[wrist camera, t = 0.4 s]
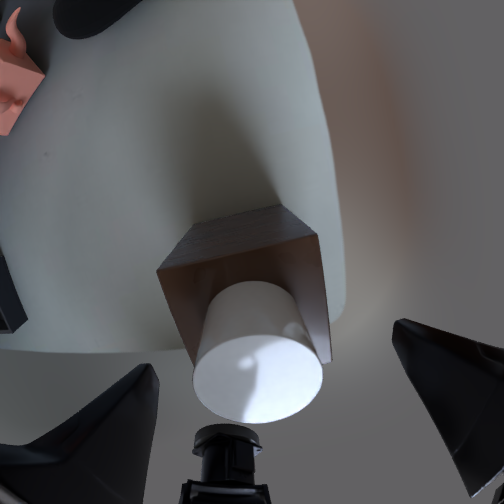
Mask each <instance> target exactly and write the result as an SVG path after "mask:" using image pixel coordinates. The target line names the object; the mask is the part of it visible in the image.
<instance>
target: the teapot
mask: <svg viewBox="0 0 504 504" xmlns="http://www.w3.org/2000/svg"><path fill="white" fill-rule="evenodd" d="M19 11H20V7H19V8H18V9H17V10H16V11H15V12H14V13H13V14H12V16H11V17H10V18H9V20H8V22H7V24H6V32H7V35H8V36H9V37H10V39H11V42H9V41H7V40H4V39H1V38H0V135H8V134H9V132H10V131H11V129H12V127H13V125H14V123H15V122H16V120H17V118H18V116H19V115H20V113H21V111H22V110H23V108H24V107H25V105H26V103H27V102H28V100H29V99H30V97H31V96H32V94H33V93H34V91H35V90H36V88H37V87H38V86H39V84H40V83H41V81H42V80H43V79H44V77H45V75H44V73H43V72H42V71H41V70H40V69H39V68H38V66H37V65H36V64H35V63H34V62H33V61H32V59H31V58H30V57H29V56H28V55H27V53H26V41H25V38H24V37H23V35H22V34H21V32H20V31H19V29H18V28H17V24H16V19H17V16H18V13H19Z"/></svg>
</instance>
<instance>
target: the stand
mask: <svg viewBox="0 0 504 504" xmlns="http://www.w3.org/2000/svg"><path fill="white" fill-rule="evenodd" d="M156 273H157V276H158V278H159V281H160V284H161V287H162V290H163V292H164V295H165V298H166V300H167V303H168V306H169V308H170V311H171V313H172V316H173V318H174V321H175V323H176V326H177V328H178V331H179V333H180V336H181V338H182V340H183V343H184V345H185V347H186V350H187V352H188V354H189V356H190V358H191V361H192V363H193V365H194V366H195V361H196V356H197V351H198V346H199V341H200V337H201V332H202V327H203V323H204V318H205V314H206V311H207V308H208V306H209V304H210V303H211V301H212V300H213V299H214V298H215V297H216V295H218V294H219V293H220V292H221V291H223V290H224V289H226V288H227V287H230V286H232V285H234V284H237V283H241V282H246V281H262V282H268V283H271V284H274V285H277V286H279V287H281V288H282V289H284V290H285V291H287V292H288V293H289V294H290V295H291V296H292V297H293V298H294V299H295V301H296V302H297V304H298V306H299V309H300V311H301V313H302V316H303V318H304V321H305V323H306V326H307V328H308V331H309V333H310V335H311V338H312V340H313V343H314V345H315V348H316V350H317V353H318V355H319V358H320V360H321V363H322V365H323V364H326V363H330V362H332V348H331V337H330V325H329V315H328V306H327V297H326V289H325V281H324V273H323V266H322V259H321V252H320V245H319V239H318V235H317V233H315V232H314V231H313V230H312V229H311V228H310V227H308V226H307V225H306V224H305V223H304V222H303V221H301V220H300V219H299V218H298V217H297V216H295V215H294V214H293V213H292V212H291V211H289V210H288V209H287V208H286V207H285V206H283V205H282V204H279V205H275V206H270V207H266V208H261V209H257V210H252V211H248V212H244V213H239V214H235V215H231V216H227V217H222V218H218V219H214V220H210V221H206V222H202V223H198V224H194V225H193V226H192V227H191V228H190V229H189V231H188V232H187V233H186V234H185V235H184V237H183V238H182V239H181V240H180V241H179V243H178V244H177V245H176V246H175V248H174V249H173V250H172V251H171V253H170V254H169V255H168V256H167V258H166V259H165V260H164V261H163V263H162V264H161V265H160V267H159V268H158V269H157V270H156Z"/></svg>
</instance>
